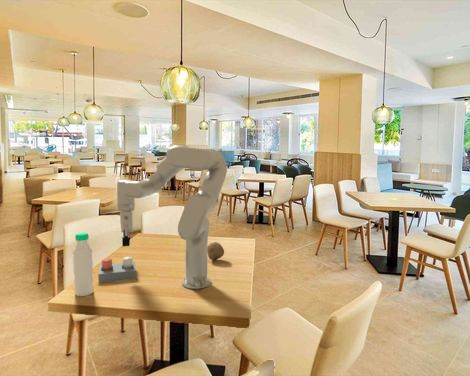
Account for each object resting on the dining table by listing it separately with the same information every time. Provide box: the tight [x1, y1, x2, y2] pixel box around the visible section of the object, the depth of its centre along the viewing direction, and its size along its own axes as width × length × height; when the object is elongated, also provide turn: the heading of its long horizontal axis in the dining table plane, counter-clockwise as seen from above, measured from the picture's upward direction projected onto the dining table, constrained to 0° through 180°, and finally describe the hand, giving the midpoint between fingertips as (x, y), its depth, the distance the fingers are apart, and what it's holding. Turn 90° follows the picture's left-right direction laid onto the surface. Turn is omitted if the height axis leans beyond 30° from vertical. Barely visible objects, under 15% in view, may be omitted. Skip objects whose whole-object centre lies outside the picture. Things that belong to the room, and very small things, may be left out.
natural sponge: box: [207, 241, 225, 262], centre depth 177 cm, size 9×9×10 cm
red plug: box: [101, 258, 113, 271], centre depth 153 cm, size 4×4×4 cm
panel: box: [97, 261, 137, 284], centre depth 155 cm, size 12×16×4 cm
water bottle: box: [72, 232, 94, 297], centre depth 135 cm, size 7×7×25 cm
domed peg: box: [122, 256, 134, 269], centre depth 156 cm, size 4×4×4 cm
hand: (126, 245), depth 155 cm, fingers closed
